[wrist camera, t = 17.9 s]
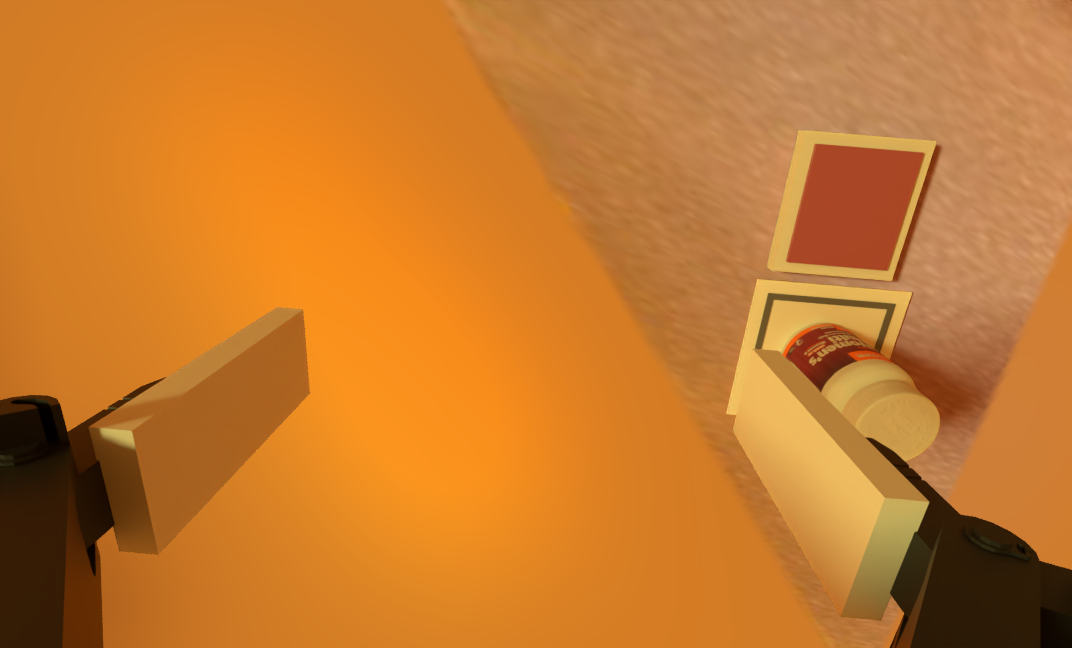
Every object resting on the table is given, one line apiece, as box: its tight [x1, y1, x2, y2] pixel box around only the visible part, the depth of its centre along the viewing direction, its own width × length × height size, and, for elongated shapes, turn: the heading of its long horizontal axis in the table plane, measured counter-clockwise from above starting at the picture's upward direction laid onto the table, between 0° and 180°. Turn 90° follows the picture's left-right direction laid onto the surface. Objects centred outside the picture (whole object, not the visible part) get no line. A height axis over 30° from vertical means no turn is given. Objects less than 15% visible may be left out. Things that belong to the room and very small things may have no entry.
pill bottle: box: [781, 323, 940, 461], centre depth 38 cm, size 6×6×11 cm
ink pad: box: [767, 130, 937, 281], centre depth 39 cm, size 10×9×2 cm
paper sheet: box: [726, 279, 912, 415], centre depth 43 cm, size 12×12×1 cm
